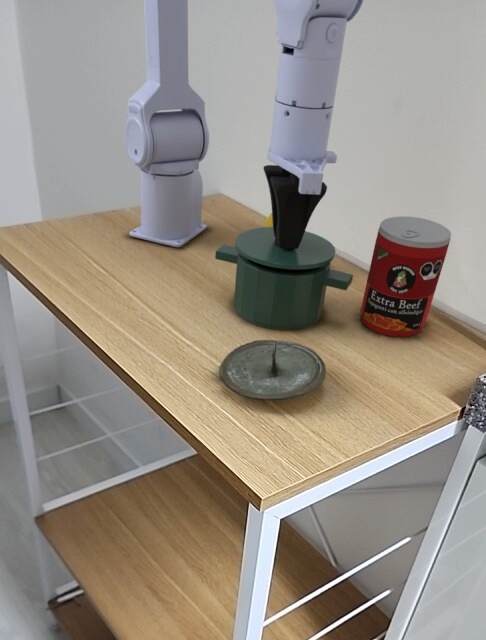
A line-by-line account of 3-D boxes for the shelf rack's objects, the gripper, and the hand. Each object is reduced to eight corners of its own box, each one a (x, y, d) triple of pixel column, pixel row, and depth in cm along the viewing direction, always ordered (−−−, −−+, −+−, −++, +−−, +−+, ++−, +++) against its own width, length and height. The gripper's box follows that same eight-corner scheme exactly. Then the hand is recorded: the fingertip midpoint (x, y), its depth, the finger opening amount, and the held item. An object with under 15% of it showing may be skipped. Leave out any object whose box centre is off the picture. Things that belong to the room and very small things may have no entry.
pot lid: (255, 229, 77) (259, 189, 74) (345, 249, 74) (352, 208, 71) (218, 260, 69) (221, 216, 66) (316, 283, 66) (324, 239, 63)
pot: (233, 278, 82) (237, 227, 78) (352, 308, 78) (363, 256, 74) (198, 310, 74) (200, 255, 70) (328, 344, 70) (339, 289, 66)
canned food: (352, 329, 74) (373, 232, 66) (366, 302, 79) (386, 210, 72) (419, 344, 72) (448, 247, 65) (427, 315, 78) (455, 224, 71)
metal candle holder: (337, 404, 64) (352, 357, 62) (275, 418, 57) (290, 365, 55) (260, 364, 70) (271, 320, 67) (195, 373, 63) (205, 323, 60)
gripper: (364, 122, 57) (336, 269, 66) (326, 90, 68) (307, 220, 77) (287, 117, 56) (269, 268, 65) (261, 86, 67) (249, 218, 76)
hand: (285, 242), depth 71 cm, fingers closed on pot lid, 2 cm apart
